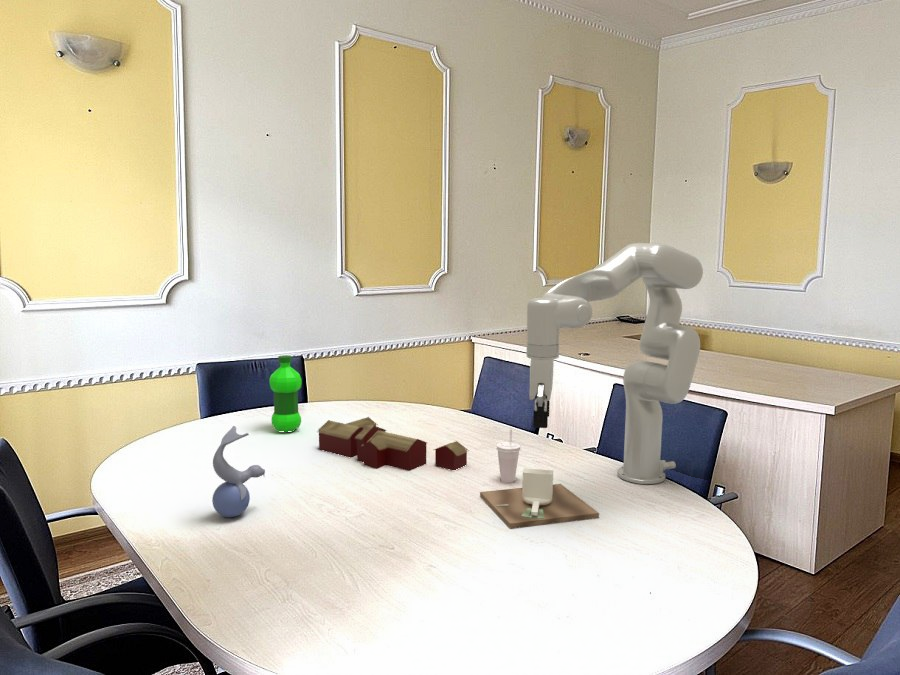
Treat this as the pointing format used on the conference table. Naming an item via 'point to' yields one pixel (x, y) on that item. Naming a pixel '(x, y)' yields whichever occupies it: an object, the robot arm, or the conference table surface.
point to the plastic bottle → (285, 396)
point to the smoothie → (508, 459)
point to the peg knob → (537, 488)
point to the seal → (232, 480)
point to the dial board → (559, 510)
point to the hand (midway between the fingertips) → (541, 421)
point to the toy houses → (385, 446)
